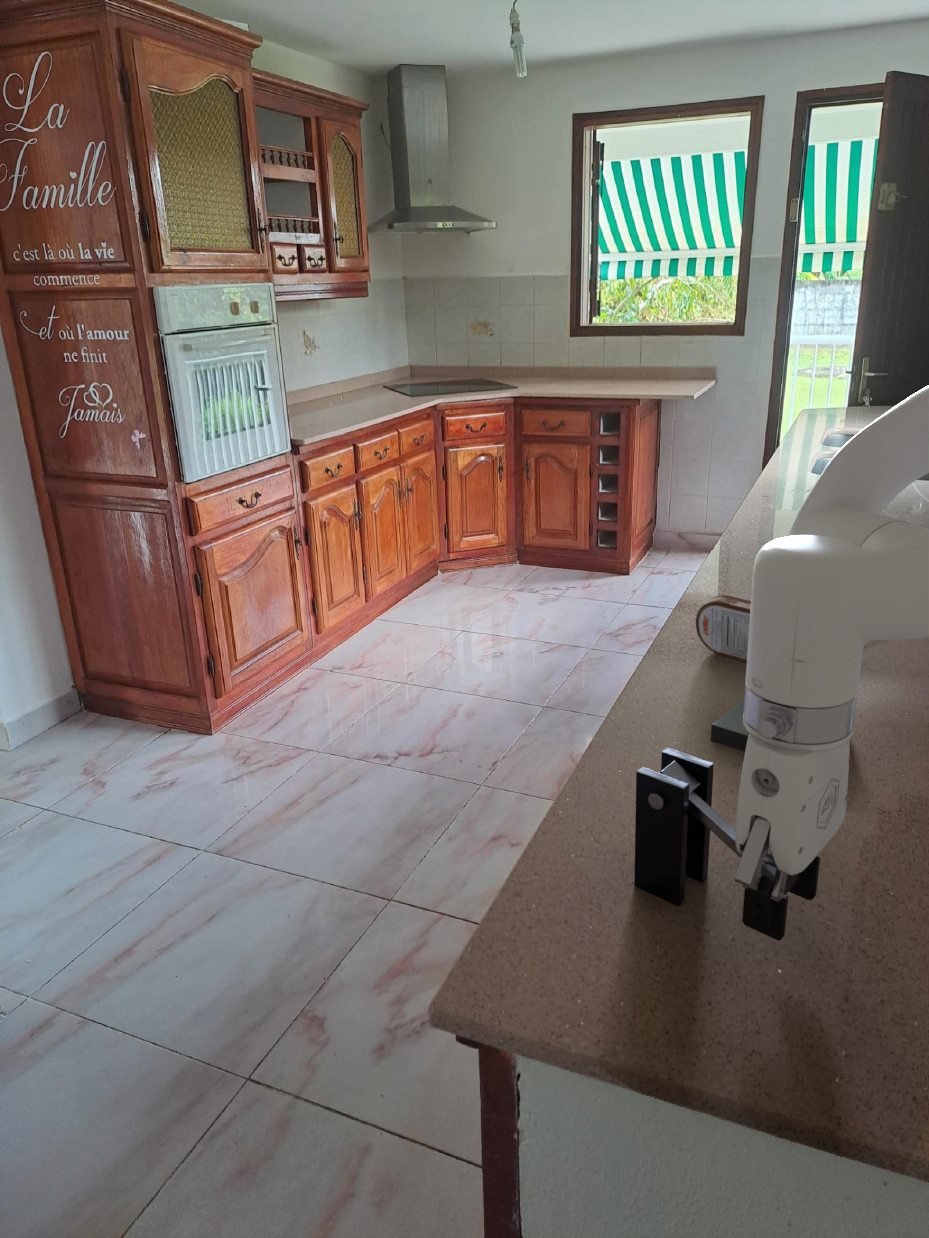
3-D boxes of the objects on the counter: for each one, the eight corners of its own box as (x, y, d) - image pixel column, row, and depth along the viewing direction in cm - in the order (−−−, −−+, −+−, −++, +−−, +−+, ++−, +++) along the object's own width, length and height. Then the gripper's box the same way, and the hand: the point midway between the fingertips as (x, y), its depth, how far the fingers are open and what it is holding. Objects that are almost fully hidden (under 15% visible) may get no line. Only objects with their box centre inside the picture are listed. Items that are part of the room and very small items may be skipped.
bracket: (752, 892, 77) (762, 765, 72) (702, 949, 71) (709, 815, 66) (643, 845, 84) (646, 726, 79) (589, 893, 78) (588, 768, 73)
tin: (803, 669, 117) (808, 611, 114) (792, 678, 115) (797, 618, 112) (702, 642, 127) (705, 588, 124) (691, 649, 125) (693, 594, 122)
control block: (849, 737, 100) (852, 706, 99) (813, 775, 94) (816, 742, 92) (750, 708, 108) (752, 679, 107) (710, 741, 101) (712, 710, 100)
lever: (795, 882, 71) (811, 866, 70) (767, 914, 68) (783, 898, 66) (670, 770, 76) (683, 753, 75) (639, 795, 73) (651, 778, 72)
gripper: (799, 775, 55) (778, 997, 62) (894, 679, 67) (867, 876, 73) (692, 739, 60) (682, 949, 67) (797, 656, 72) (780, 842, 78)
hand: (779, 908), depth 70 cm, fingers open, 5 cm apart
